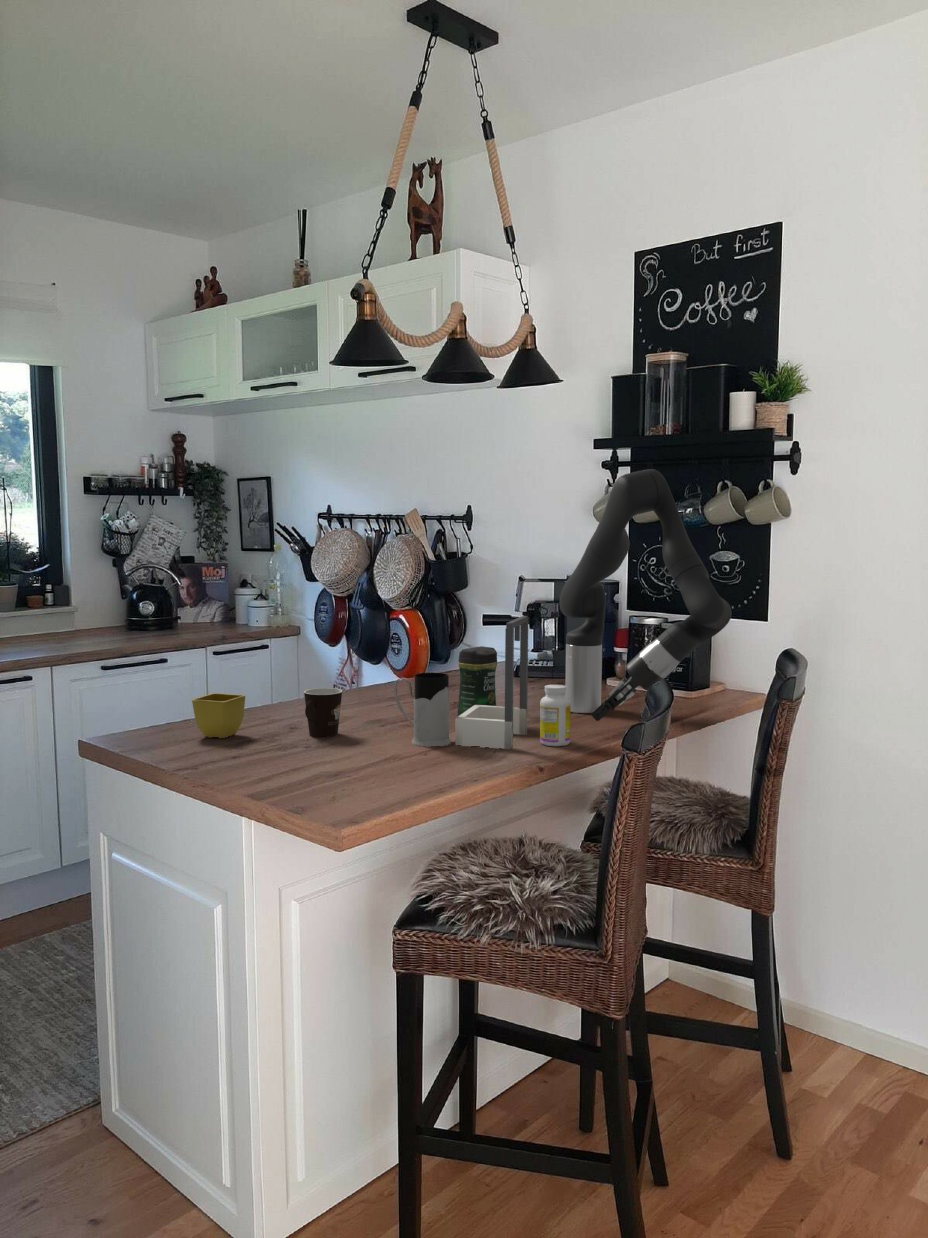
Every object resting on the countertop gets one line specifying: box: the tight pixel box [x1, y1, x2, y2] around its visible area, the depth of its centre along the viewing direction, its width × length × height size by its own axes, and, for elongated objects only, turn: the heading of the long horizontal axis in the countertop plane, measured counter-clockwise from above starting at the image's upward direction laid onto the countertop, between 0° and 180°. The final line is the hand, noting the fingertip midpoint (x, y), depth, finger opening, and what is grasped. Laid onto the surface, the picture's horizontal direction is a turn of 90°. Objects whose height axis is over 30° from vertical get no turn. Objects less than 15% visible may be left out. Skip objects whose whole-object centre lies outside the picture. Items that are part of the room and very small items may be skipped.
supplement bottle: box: [539, 684, 571, 747], centre depth 213 cm, size 7×7×13 cm
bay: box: [454, 615, 529, 750], centre depth 216 cm, size 16×12×27 cm
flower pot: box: [191, 692, 246, 739], centre depth 219 cm, size 9×9×9 cm
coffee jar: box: [456, 646, 498, 718], centre depth 234 cm, size 10×8×19 cm
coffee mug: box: [303, 687, 343, 739], centre depth 220 cm, size 12×9×10 cm
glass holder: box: [393, 672, 452, 748], centre depth 215 cm, size 9×14×15 cm, turn 59°
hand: (594, 717), depth 210 cm, fingers closed
